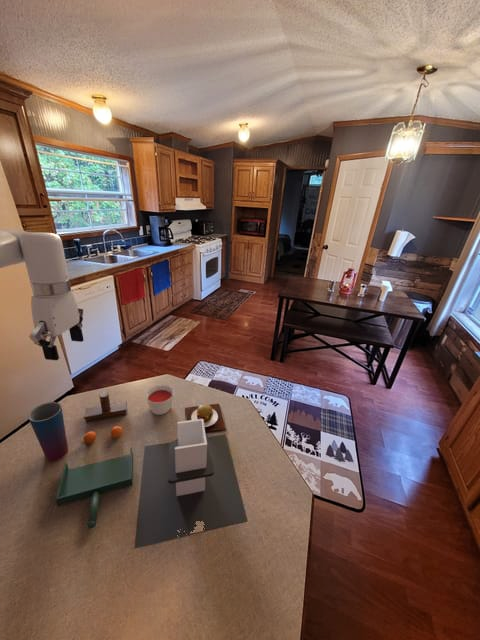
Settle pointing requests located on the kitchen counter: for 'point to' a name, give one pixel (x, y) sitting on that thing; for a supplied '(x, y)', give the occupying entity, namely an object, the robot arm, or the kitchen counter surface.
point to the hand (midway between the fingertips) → (65, 349)
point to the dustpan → (94, 482)
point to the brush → (105, 409)
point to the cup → (50, 430)
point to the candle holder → (187, 486)
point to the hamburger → (207, 416)
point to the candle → (160, 399)
